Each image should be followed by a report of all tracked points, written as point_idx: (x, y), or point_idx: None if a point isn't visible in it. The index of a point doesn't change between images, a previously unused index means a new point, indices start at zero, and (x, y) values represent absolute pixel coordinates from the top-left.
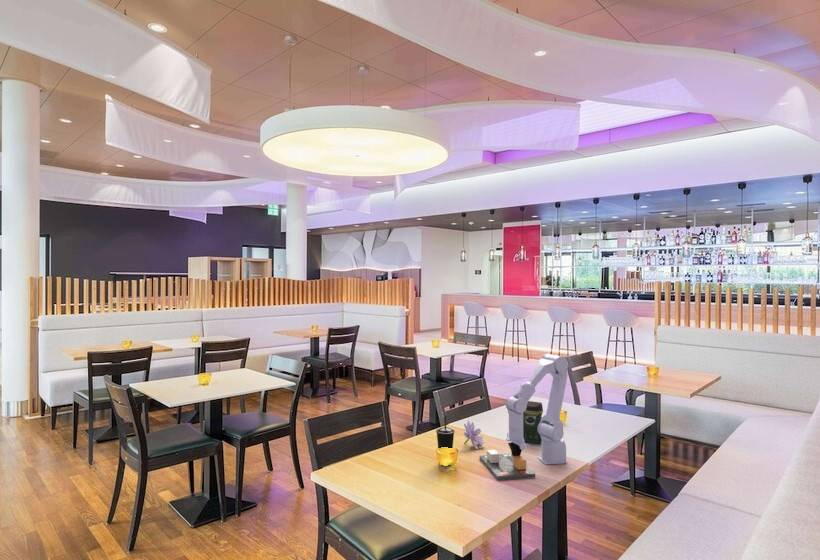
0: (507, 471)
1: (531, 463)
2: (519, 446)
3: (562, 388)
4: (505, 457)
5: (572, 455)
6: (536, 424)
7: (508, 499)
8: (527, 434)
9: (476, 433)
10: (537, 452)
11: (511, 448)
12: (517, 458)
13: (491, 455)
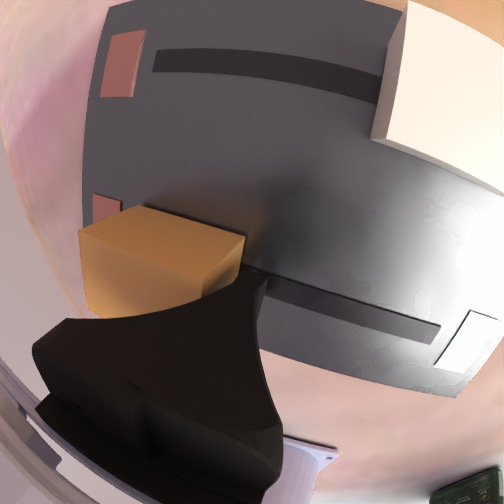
0: (141, 103)
1: (298, 397)
2: (2, 364)
3: None
4: (453, 305)
5: None
6: None
7: (15, 41)
8: (476, 501)
9: None
10: (391, 470)
11: (145, 338)
12: (124, 272)
13: (404, 14)
